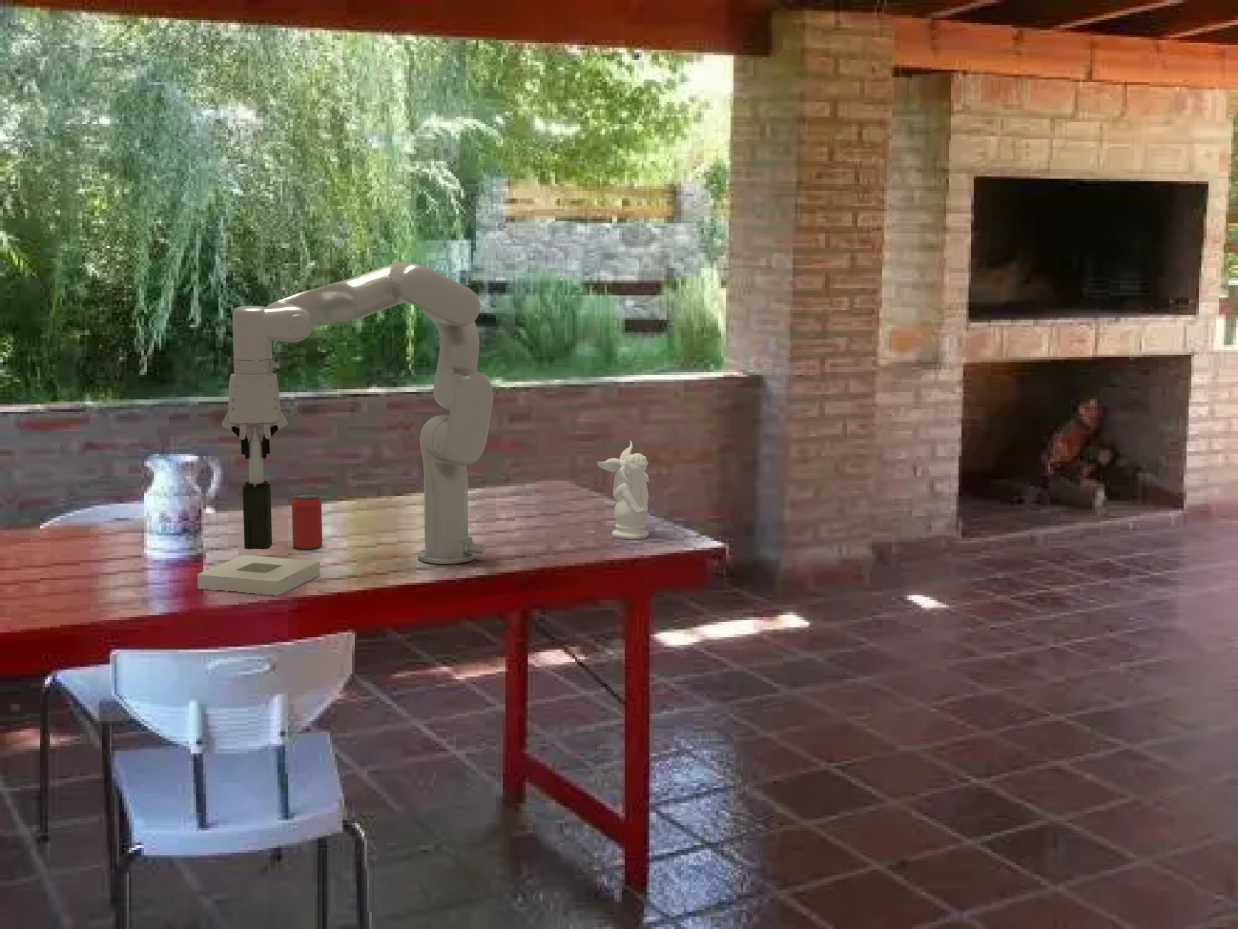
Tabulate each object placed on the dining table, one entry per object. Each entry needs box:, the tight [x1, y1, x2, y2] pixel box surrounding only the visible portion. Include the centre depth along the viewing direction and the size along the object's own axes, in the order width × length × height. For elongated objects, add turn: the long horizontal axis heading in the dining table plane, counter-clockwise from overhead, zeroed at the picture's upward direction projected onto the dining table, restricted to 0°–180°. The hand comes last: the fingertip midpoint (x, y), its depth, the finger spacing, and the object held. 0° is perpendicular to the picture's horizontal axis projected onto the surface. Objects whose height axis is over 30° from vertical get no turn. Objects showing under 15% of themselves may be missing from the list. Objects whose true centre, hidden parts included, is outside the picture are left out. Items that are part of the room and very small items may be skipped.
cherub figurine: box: [596, 440, 650, 540], centre depth 368 cm, size 12×12×22 cm
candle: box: [242, 425, 273, 550], centre depth 319 cm, size 5×5×25 cm
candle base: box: [196, 554, 321, 597], centre depth 322 cm, size 18×18×3 cm
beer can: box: [291, 492, 323, 550], centre depth 354 cm, size 7×7×12 cm
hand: (255, 457), depth 318 cm, fingers closed on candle, 3 cm apart
